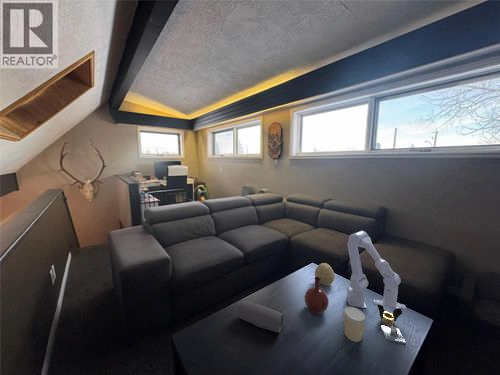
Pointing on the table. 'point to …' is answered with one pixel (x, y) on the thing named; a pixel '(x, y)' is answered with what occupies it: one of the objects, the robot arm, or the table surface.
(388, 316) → the collar
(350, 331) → the coffee cup
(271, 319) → the bluetooth speaker
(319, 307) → the round-bottom flask
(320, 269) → the fossilized egg
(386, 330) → the shaft block
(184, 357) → the table surface
